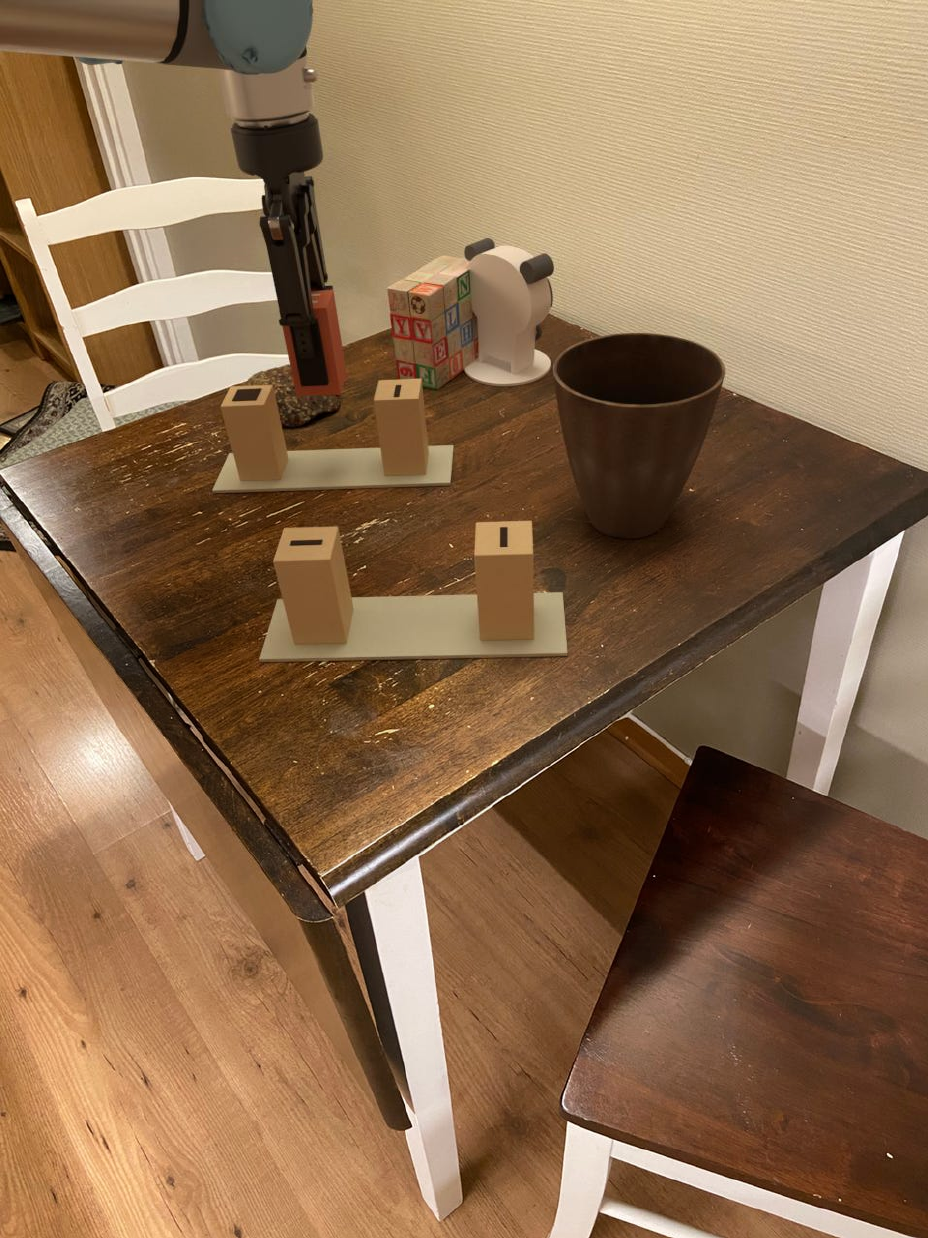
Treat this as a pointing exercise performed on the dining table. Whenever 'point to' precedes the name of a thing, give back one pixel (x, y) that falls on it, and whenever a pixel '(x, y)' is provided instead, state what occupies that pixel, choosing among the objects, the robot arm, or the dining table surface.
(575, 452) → the flower pot
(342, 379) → the equals sign block
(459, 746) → the dining table surface
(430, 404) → the dining table surface
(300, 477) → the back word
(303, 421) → the bread roll
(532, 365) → the panda figurine
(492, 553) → the front word
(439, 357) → the stack of blocks
